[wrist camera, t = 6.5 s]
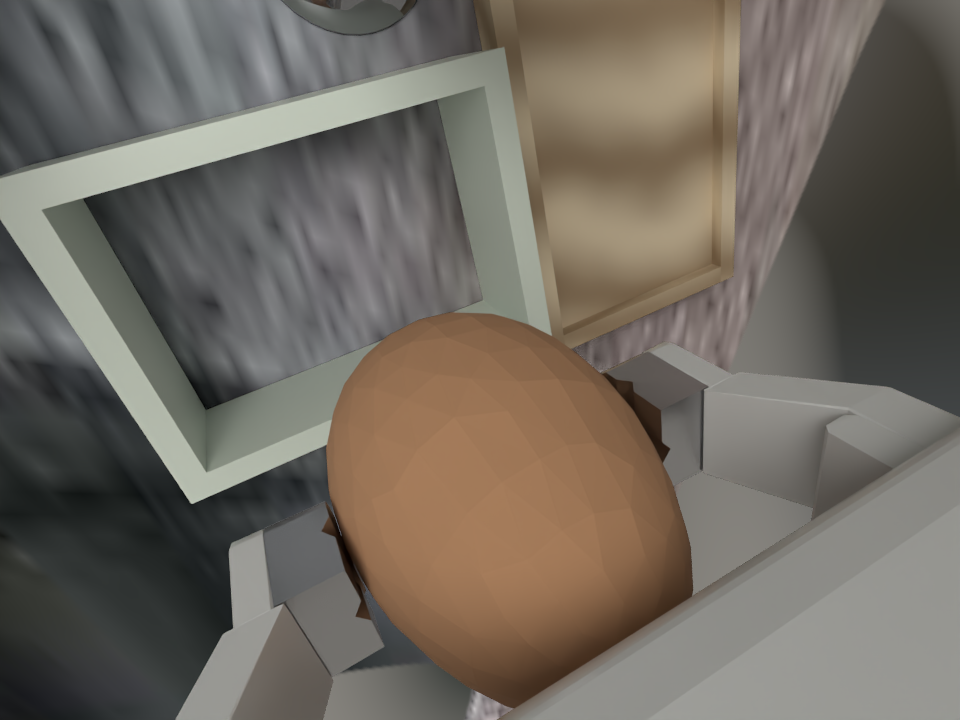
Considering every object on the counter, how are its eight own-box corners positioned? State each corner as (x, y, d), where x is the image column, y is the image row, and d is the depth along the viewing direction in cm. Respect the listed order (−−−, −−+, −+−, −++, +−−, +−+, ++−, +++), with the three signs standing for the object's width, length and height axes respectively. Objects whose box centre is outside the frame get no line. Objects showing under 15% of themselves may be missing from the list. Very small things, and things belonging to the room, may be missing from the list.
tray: (466, -37, 22) (482, -45, 21) (717, -90, 25) (743, -99, 24) (536, 347, 31) (550, 358, 30) (714, 270, 34) (733, 276, 33)
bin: (26, 165, 19) (-24, 184, 14) (450, 56, 23) (504, 47, 19) (193, 436, 25) (191, 504, 21) (503, 310, 29) (553, 345, 25)
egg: (539, 282, 13) (878, 475, 6) (487, 468, 15) (713, 767, 8) (314, 251, 10) (499, 511, 4) (284, 478, 12) (379, 918, 6)
